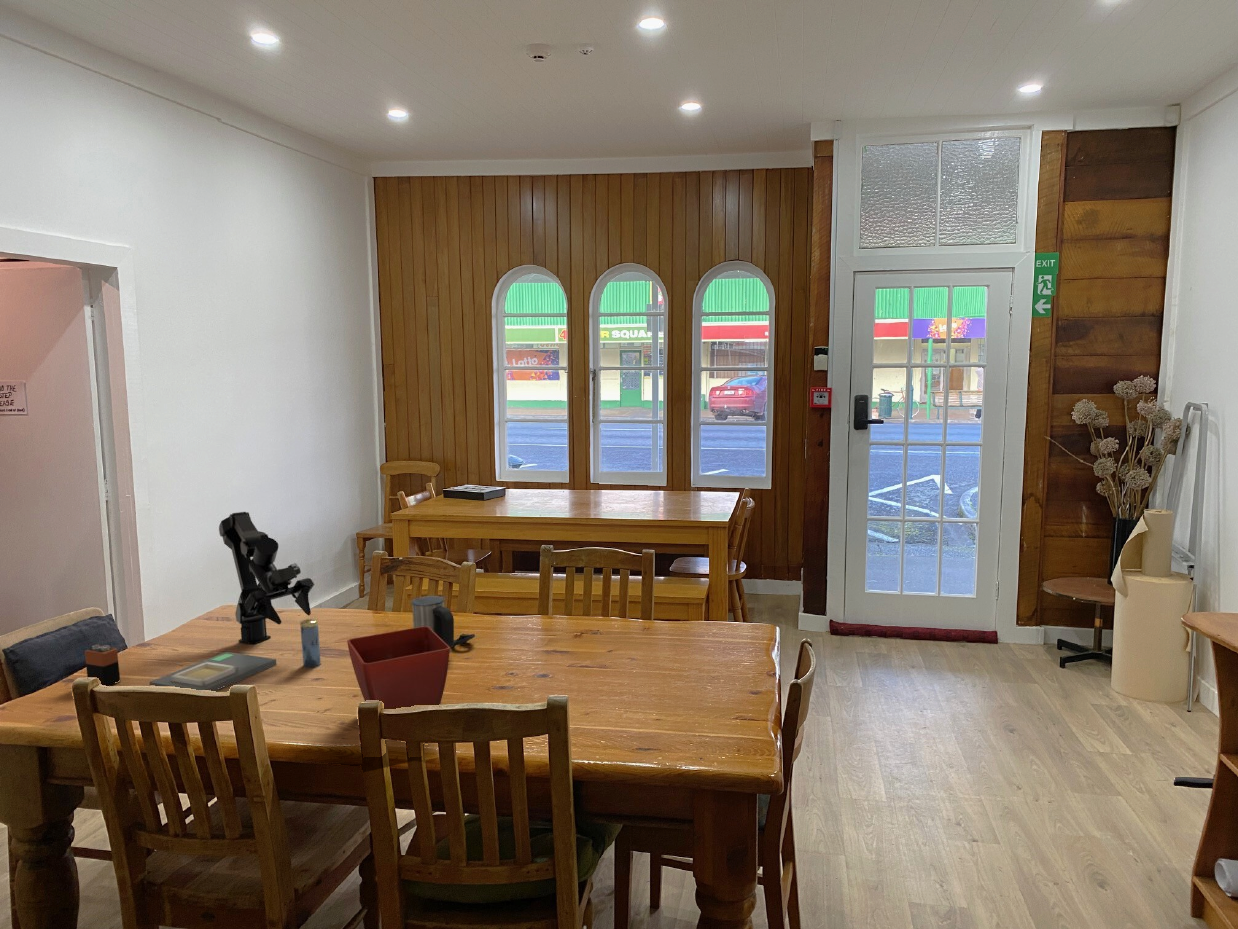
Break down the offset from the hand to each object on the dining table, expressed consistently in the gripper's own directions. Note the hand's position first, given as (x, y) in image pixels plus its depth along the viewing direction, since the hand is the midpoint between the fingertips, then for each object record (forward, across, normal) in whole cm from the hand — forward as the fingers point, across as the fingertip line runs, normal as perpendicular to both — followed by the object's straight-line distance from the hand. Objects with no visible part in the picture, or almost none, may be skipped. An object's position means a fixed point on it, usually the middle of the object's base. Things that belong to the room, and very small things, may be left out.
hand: (295, 619), depth 234 cm
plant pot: (+45, -11, -28) cm, 54 cm away
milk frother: (+28, +27, -11) cm, 41 cm away
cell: (+12, 0, +4) cm, 13 cm away
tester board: (+1, -18, +15) cm, 24 cm away
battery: (-13, -36, +30) cm, 48 cm away
